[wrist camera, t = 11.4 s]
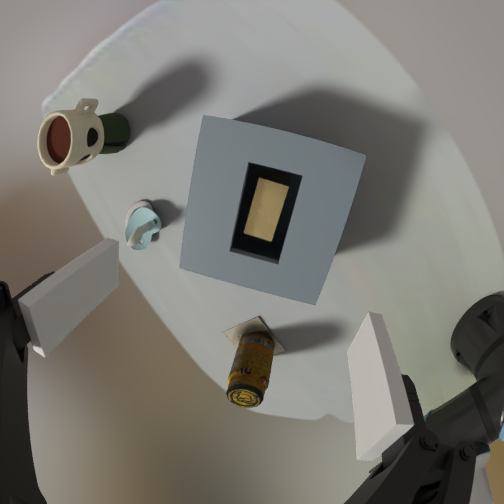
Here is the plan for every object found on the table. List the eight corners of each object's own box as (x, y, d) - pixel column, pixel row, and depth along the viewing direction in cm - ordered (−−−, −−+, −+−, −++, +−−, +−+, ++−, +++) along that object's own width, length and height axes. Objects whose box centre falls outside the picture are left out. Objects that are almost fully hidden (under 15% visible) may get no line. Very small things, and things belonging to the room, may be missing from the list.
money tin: (346, 149, 32) (366, 155, 22) (312, 261, 39) (315, 305, 29) (231, 120, 33) (203, 115, 23) (208, 233, 40) (179, 268, 30)
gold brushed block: (291, 175, 34) (288, 186, 27) (277, 219, 37) (271, 241, 29) (267, 168, 34) (259, 177, 27) (255, 212, 37) (243, 232, 29)
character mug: (115, 174, 39) (56, 194, 27) (87, 151, 38) (27, 164, 26) (149, 113, 34) (89, 111, 22) (117, 91, 33) (56, 86, 22)
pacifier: (121, 224, 42) (146, 249, 43) (98, 237, 36) (125, 266, 37) (143, 190, 39) (171, 217, 40) (119, 200, 34) (149, 230, 34)
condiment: (251, 363, 49) (238, 415, 38) (223, 331, 47) (202, 383, 36) (286, 349, 46) (279, 404, 36) (258, 315, 44) (244, 369, 33)
